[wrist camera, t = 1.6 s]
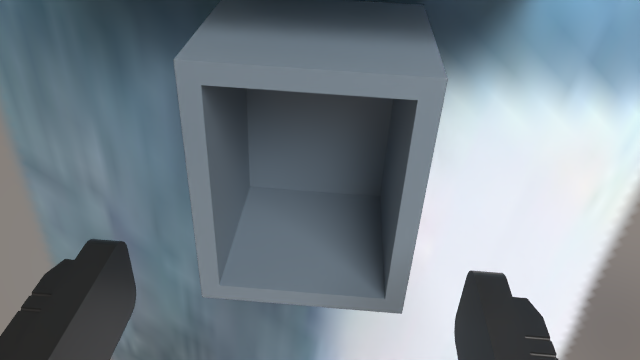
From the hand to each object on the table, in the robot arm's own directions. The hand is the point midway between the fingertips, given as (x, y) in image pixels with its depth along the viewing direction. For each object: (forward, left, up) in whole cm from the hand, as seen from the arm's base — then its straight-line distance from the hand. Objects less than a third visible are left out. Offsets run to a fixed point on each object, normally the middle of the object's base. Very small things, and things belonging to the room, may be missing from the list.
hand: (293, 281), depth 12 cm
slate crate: (0, 0, -9) cm, 9 cm away
